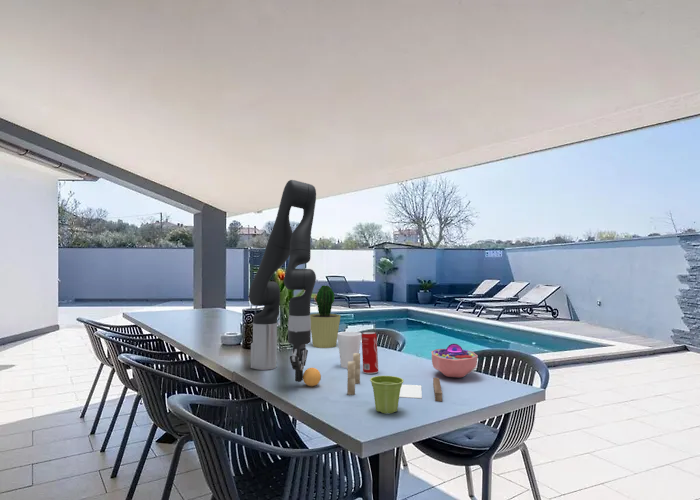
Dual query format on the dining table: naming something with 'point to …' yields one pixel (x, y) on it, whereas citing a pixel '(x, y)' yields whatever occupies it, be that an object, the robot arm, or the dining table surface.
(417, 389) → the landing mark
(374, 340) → the beverage can
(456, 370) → the cell model
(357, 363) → the post
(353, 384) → the post
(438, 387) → the wall
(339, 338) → the foam cup
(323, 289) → the potted cactus
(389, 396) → the plant pot
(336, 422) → the dining table surface
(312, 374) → the ball
